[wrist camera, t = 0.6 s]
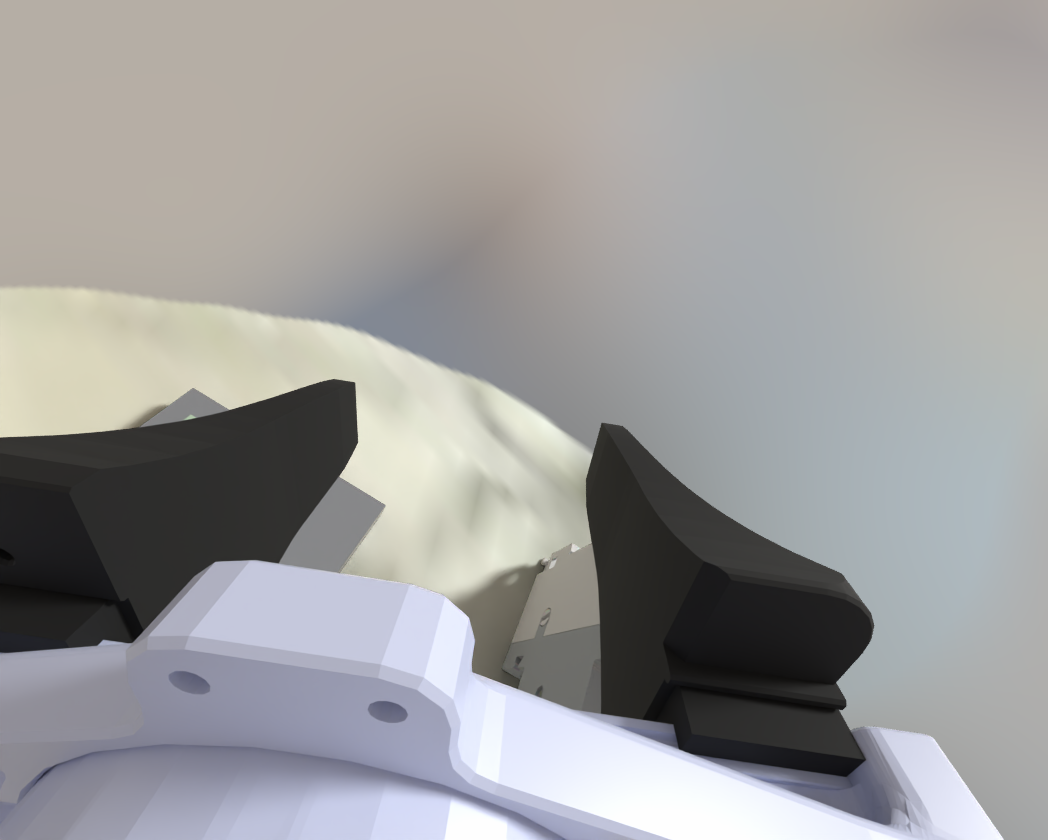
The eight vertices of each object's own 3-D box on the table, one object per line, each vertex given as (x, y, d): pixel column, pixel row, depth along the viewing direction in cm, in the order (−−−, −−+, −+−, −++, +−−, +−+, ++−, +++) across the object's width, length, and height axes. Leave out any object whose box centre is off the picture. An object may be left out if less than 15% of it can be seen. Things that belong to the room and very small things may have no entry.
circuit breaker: (458, 783, 24) (610, 867, 12) (542, 559, 33) (674, 488, 22) (567, 840, 25) (803, 969, 13) (620, 606, 34) (787, 562, 22)
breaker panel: (134, 861, 18) (112, 884, 16) (-195, 703, 17) (-268, 705, 14) (380, 514, 29) (387, 501, 27) (198, 404, 28) (190, 380, 26)
